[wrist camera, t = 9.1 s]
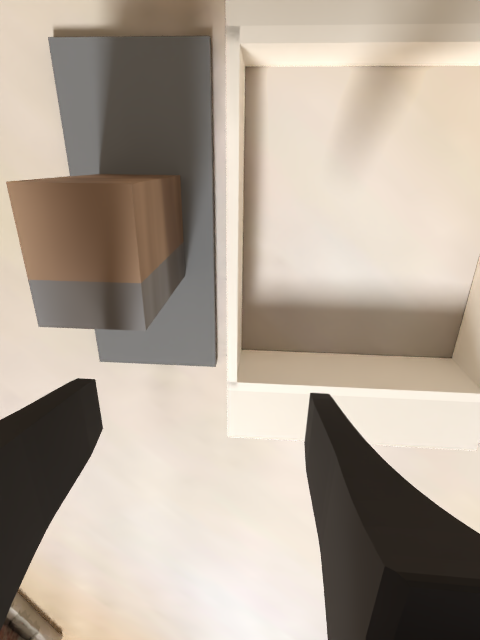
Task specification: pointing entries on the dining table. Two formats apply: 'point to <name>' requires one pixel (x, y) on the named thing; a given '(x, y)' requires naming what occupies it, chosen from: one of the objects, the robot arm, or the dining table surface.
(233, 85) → the carton
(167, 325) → the mat
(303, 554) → the dining table surface
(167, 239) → the block
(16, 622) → the packaged product
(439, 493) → the dining table surface
